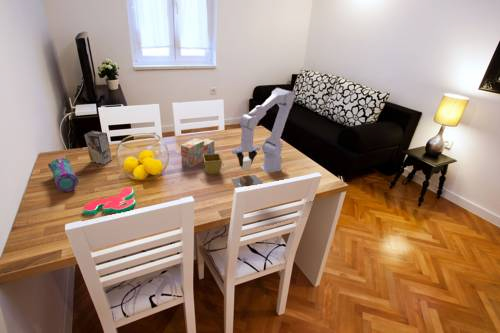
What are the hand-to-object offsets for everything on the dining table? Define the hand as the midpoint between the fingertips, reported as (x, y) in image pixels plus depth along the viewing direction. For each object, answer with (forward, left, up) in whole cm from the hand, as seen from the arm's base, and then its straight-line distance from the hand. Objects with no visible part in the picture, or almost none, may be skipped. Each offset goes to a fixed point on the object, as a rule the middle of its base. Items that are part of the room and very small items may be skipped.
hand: (245, 164), depth 139 cm
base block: (+2, +5, -9) cm, 10 cm away
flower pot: (+13, -14, -9) cm, 21 cm away
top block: (0, 0, -2) cm, 2 cm away
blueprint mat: (0, +4, -9) cm, 10 cm away
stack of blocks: (+15, -31, -9) cm, 35 cm away
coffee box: (+65, -47, -9) cm, 80 cm away
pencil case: (+80, -29, -9) cm, 86 cm away
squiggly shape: (+63, -3, -10) cm, 63 cm away
